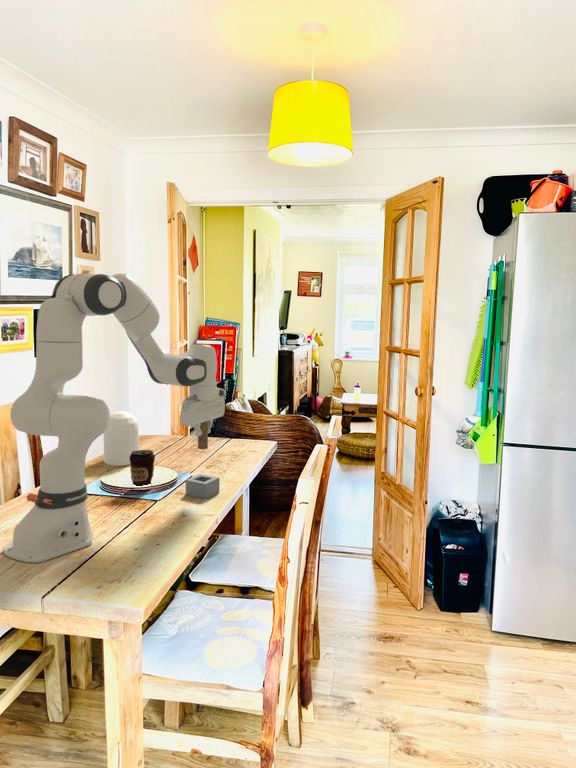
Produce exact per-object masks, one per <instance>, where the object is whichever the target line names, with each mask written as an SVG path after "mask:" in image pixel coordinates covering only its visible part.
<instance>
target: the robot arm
mask: <svg viewBox="0 0 576 768" xmlns="http://www.w3.org/2000/svg"><path fill="white" fill-rule="evenodd" d="M111 314H113V316H114V317H115V319H116V320H117V321H118V322H119V323H120V325H121V326H122V327H123V328H124V330H125V332H126V335H127V336H128V339H129V340H130V342H131V344H132V345H133V347H134V348H135V349H136V351H137V353H138V354H139V355H140V357H141V359H142V360H143V362H144V364H145V365H146V368H147V372H148V375H149V377H150V378H151V380H152V381H154V382H155V384H159V385H161V384H162V385H170V386H176V387H177V386H179V387H189V396H186V397H185V398H184V400H183V401H182V404H181V408H180V414H179V415H180V417H179V421H180V424H181V426H185V427H191V426H192V427H193V429H194V431H195V432H194V433H195V437H198V436H201V435H202V430H201V429H200V426H201V423H202V422H205V421H208V434H210V433H211V428H212V425H213V423H214V422H213V421H214V420H215V419H217V418H222V417H223V416H224V415H225V410H226V406H225V405H226V404H225V401H226V400H225V396H226V390H225V389H223V388H220V387H217V385H218V383H217V380H216V379H217V378H216V377H217V372H218V371H217V369H218V365H217V364H218V361H217V360H218V359H217V353H216V349H215V347H214V346H212V345H210V344H202V343H192V344H191V346H190V347H189V349H188V350H187V351H185V352H183V353H181V354H173V353H172V354H171V353H169V352H166V351H164V350H162V348H160V346H159V344H158V343H157V342H156V340H155V339H154V337H153V335H152V333H153V332H154V331H155V330H156V329H157V327H158V325H159V322H160V315H161V314H160V313H159V310H158V308H157V306H156V304H155V303H154V302H153V300H152V299H151V298H150V296H149V295H148V294H147V292H146V291H145V290H144V289H143V287H142V286H140V285H139V283H137V282H136V281H135V280H134V279H133V278H132V276H129V274H126V273H115V274H113V275H108V274H104V273H99V274H96V273H88V272H84V273H83V272H82V273H76V274H68V275H65V276H63V277H61V278H60V279H58V281H57V282H56V283H55V285H54V287H53V290H52V294H51V295H50V298H49V299H46V300H44V301H43V302H42V303H41V304H40V306H39V310H38V315H37V321H36V333H35V334H36V335H35V336H36V338H35V339H36V342H35V343H36V350H35V351H36V355H35V356H36V358H35V370H34V371H35V372H34V375H33V378H32V381H31V383H30V385H29V387H28V388H27V389H26V391H24V392H23V394H21V395H20V396H19V397H17V398H16V399H15V400H14V401H13V403H12V406H11V408H10V421H11V424H12V425H13V427H14V428H15V429H16V430H17V431H19V432H22V433H25V434H29V435H32V436H41V437H42V436H43V437H58V445H57V447H55V448H54V449H51V450H50V451H48V452H47V453H45V454H44V455H43V456H42V458H41V459H40V462H39V483H40V484H39V488H38V491H37V493H36V494H35V493H31V492H29V493H28V494H27V495H26V498H25V499H26V501H28V502H32V503H34V505H33V506H32V508H31V509H30V510H29V511H28V512H27V513H26V514H25V516H23V518H22V519H21V520H20V521H19V522H18V523H17V524H16V525H15V527H14V530H13V532H12V534H13V535H12V542H9V543H8V544H6V545H4V546H3V547H2V553H3V555H5V556H7V557H8V558H11V559H13V560H16V561H20V562H24V563H43V562H46V561H49V560H52V559H53V558H56V557H60V556H62V555H65V554H69V553H71V552H74V551H77V550H79V549H82V548H85V547H89V546H90V545H92V544H93V542H92V541H93V540H92V537H93V530H92V529H91V525H90V521H89V515H88V509H87V501H86V500H87V498H88V491H87V490H88V489H87V487H88V486H87V484H86V483H85V482H86V480H85V479H86V477H85V476H86V475H85V474H86V472H85V470H86V460H87V459H86V457H87V454H88V451H89V449H90V447H91V446H92V444H93V442H95V440H96V439H97V438H99V437H100V436H101V435H104V431H105V430H106V429H107V427H108V425H109V422H110V415H111V412H110V409H109V406H108V404H107V403H106V402H105V401H104V400H103V399H100V398H96V397H93V396H87V395H77V394H76V395H73V394H64V388H65V385H66V384H67V382H69V381H72V380H73V379H75V378H77V377H78V376H79V375H80V374H81V372H82V370H83V362H84V360H83V357H84V356H83V330H82V328H83V323H84V321H85V318H86V317H94V316H109V315H111Z"/></svg>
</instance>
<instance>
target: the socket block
mask: <svg viewBox="0 0 576 768" xmlns="http://www.w3.org/2000/svg"><path fill="white" fill-rule="evenodd" d="M218 493H220V477H218V476H213V475H207V474H202V473H200V474H197V475H194V476H192V477H189V478H187V479H185V496H191V497H195V498H199V497H200V499H204V498H206V499H209V498H210V497H212V496H214V495H217V494H218Z"/></svg>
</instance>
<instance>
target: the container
mask: <svg viewBox="0 0 576 768" xmlns="http://www.w3.org/2000/svg"><path fill="white" fill-rule="evenodd" d="M139 428H140V425H139V421H138V419H137V418H136V416H135V415H133V414H132V413H130V412H128V411H123V410H122V411H121V410H120V411H119V410H118V411H116V412H113V413H112V414H110V422H109V425H108V427H107V429H106V430H105V431H104V433H103V463H105V465H109V466H118V467H119V466H131V463H130V455H131V454H132V453H131V452H132V451H138V450H139V449H140V448H139V447H140V445H139V444H140V442H139V441H140V439H139V435H140V433H139Z"/></svg>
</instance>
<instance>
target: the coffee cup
mask: <svg viewBox="0 0 576 768" xmlns="http://www.w3.org/2000/svg"><path fill="white" fill-rule="evenodd" d="M131 453H132V454H131V455H130V463H131V464H130V478H131V481H132V485H133V484H134V485H136V486H143V485H148V484H151V485H152V480H153V479H152V478H153V477H154V470H155V466H154V465H155V459H156V454H154V451H153V450H151V449H140V450H138V451H132V452H131Z"/></svg>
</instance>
